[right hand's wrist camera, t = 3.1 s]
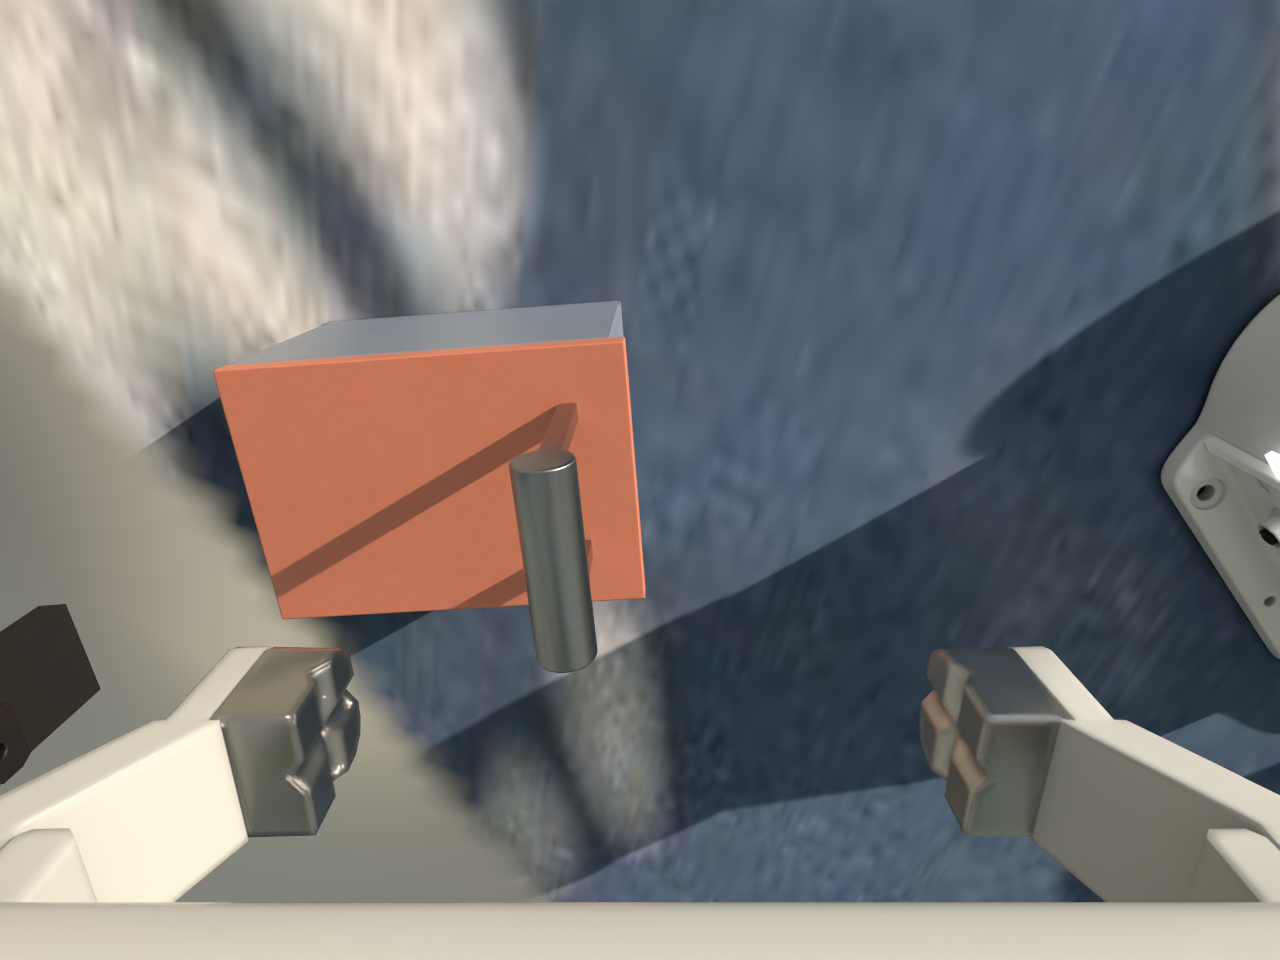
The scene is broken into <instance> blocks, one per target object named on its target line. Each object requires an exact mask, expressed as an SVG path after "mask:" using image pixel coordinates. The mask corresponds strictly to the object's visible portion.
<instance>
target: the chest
mask: <svg viewBox="0 0 1280 960" xmlns="http://www.w3.org/2000/svg"><path fill="white" fill-rule="evenodd" d="M613 337H623V325H622V313H621V301H607V302H594V303H580V304H566V305H553V306H539V307H526V308H512V309H498V310H485V311H471V312H457V313H444V314H430V315H417V316H403V317H389V318H376V319H362V320H349V321H335V322H328V323H326V324H323V325H321V326H320V327H318V328H316V329H313V330H311V331H308V332H306V333H303V334H301V335H299V336H296V337H294V338H291V339H289V340H287V341H284V342H282V343H279V344H277V345H274V346H272V347H270V348H267V349H265V350H262V351H260V352H258V353H255V354H253V355H250V356H248V357H245V358H243V359H241V360H238V361H236V362H233V363H231V364H229V365H236V364H249V363H263V362H277V361H291V360H305V359H319V358H333V357H347V356H361V355H375V354H389V353H403V352H417V351H431V350H445V349H459V348H473V347H487V346H501V345H515V344H529V343H543V342H557V341H571V340H585V339H599V338H613Z"/></svg>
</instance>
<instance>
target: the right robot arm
mask: <svg viewBox="0 0 1280 960" xmlns="http://www.w3.org/2000/svg"><path fill="white" fill-rule="evenodd" d="M1161 483H1162V485H1163V487H1164V489H1165V490H1166V492H1167V494H1168V495H1169V497H1170V498H1171V500H1172V501H1173V503H1174V504H1175V506H1176V507H1177V509H1178V511H1179V512H1180V514H1181V515H1182V517H1183V518H1184V520H1185V521H1186V523H1187V524H1188V526H1189V528H1190V529H1191V531H1192V532H1193V534H1194V535H1195V537H1196V538H1197V540H1198V542H1199V543H1200V545H1201V546H1202V548H1203V549H1204V551H1205V552H1206V554H1207V555H1208V557H1209V559H1210V560H1211V562H1212V563H1213V565H1214V566H1215V568H1216V569H1217V571H1218V572H1219V574H1220V576H1221V577H1222V579H1223V580H1224V582H1225V583H1226V585H1227V586H1228V588H1229V590H1230V591H1231V593H1232V594H1233V596H1234V597H1235V599H1236V600H1237V602H1238V603H1239V605H1240V607H1241V608H1242V610H1243V611H1244V613H1245V614H1246V616H1247V617H1248V619H1249V620H1250V622H1251V624H1252V625H1253V627H1254V628H1255V630H1256V631H1257V633H1258V634H1259V636H1260V638H1261V639H1262V641H1263V642H1264V644H1265V645H1266V647H1267V648H1268V650H1269V651H1270V652H1271V653H1272V654H1273V655H1274V656H1275V657H1277V658H1278V659H1280V294H1279V295H1278V296H1277V297H1275V298H1274V299H1273V300H1272V301H1271V302H1270V303H1269V304H1268V305H1267V306H1265V307H1264V308H1263V309H1262V310H1261V311H1260V312H1259V313H1258V314H1257V315H1256V317H1255V318H1254V319H1253V320H1252V321H1251V322H1250V323H1249V324H1248V325H1247V327H1246V328H1245V329H1244V330H1243V332H1242V333H1241V334H1240V335H1239V337H1238V338H1237V339H1236V341H1235V342H1234V344H1233V345H1232V347H1231V348H1230V350H1229V351H1228V353H1227V355H1226V356H1225V358H1224V360H1223V362H1222V363H1221V365H1220V367H1219V369H1218V371H1217V373H1216V376H1215V378H1214V380H1213V383H1212V385H1211V388H1210V391H1209V394H1208V396H1207V399H1206V402H1205V405H1204V407H1203V410H1202V412H1201V414H1200V416H1199V418H1198V420H1197V422H1196V424H1195V425H1194V426H1193V428H1192V429H1191V430H1190V431H1189V432H1188V433H1187V434H1186V436H1185V437H1184V438H1183V439H1182V440H1181V442H1180V443H1179V444H1178V445H1177V446H1176V448H1175V449H1174V450H1173V452H1172V453H1171V454H1170V456H1169V457H1168V459H1167V460H1166V462H1165V464H1164V466H1163V468H1162V471H1161ZM1203 486H1205V488H1204V490H1203V492H1202V493H1200V494H1199V495H1197V493H1198V491H1199V489H1200V488H1201V487H1203ZM353 676H354V673H353V668H352V663H351V658H350V654H349V653H348V652H347V651H346V650H345V649H344V648H299V647H273V648H271V647H237V648H233V649H230V650H229V651H228V652H227V653H226V654H225V655H224V656H223V657H222V658H221V659H220V660H219V662H218V663H217V664H216V665H215V666H214V667H213V668H212V669H211V670H210V672H209V673H208V674H207V675H206V676H205V677H204V678H203V679H202V680H201V681H200V683H199V684H198V685H197V686H196V687H195V688H194V689H193V690H192V691H191V693H190V694H189V695H188V696H187V697H186V698H185V699H184V700H183V701H182V703H181V704H180V705H179V706H178V707H177V708H176V709H175V710H174V711H173V713H172V714H171V715H170V716H169V717H168V718H167V719H166V720H153V721H151V722H149V723H147V724H145V725H143V726H141V727H139V728H137V729H135V730H133V731H131V732H129V733H126V734H124V735H122V736H120V737H118V738H116V739H114V740H112V741H110V742H108V743H106V744H104V745H102V746H100V747H98V748H96V749H94V750H92V751H90V752H88V753H86V754H84V755H82V756H79V757H77V758H75V759H73V760H71V761H69V762H67V763H65V764H63V765H61V766H59V767H57V768H55V769H53V770H51V771H49V772H47V773H45V774H43V775H41V776H39V777H36V778H34V779H32V780H30V781H28V782H26V783H24V784H22V785H20V786H18V787H16V788H14V789H12V790H10V791H8V792H6V793H4V794H2V795H0V960H1280V795H1278V794H1276V793H1274V792H1272V791H1270V790H1268V789H1266V788H1264V787H1262V786H1260V785H1258V784H1255V783H1253V782H1251V781H1249V780H1247V779H1245V778H1243V777H1241V776H1239V775H1237V774H1235V773H1233V772H1231V771H1229V770H1227V769H1225V768H1223V767H1221V766H1219V765H1217V764H1215V763H1213V762H1211V761H1209V760H1207V759H1204V758H1202V757H1200V756H1198V755H1196V754H1194V753H1192V752H1190V751H1188V750H1186V749H1184V748H1182V747H1180V746H1178V745H1176V744H1174V743H1172V742H1170V741H1168V740H1166V739H1164V738H1162V737H1160V736H1158V735H1156V734H1154V733H1151V732H1149V731H1147V730H1145V729H1143V728H1141V727H1139V726H1137V725H1135V724H1133V723H1131V722H1129V721H1127V720H1114V719H1113V718H1112V717H1111V716H1110V715H1109V714H1108V713H1107V711H1106V710H1105V709H1104V708H1103V707H1102V706H1101V705H1100V704H1099V703H1098V701H1097V700H1096V699H1095V698H1094V697H1093V696H1092V695H1091V694H1090V693H1089V691H1088V690H1087V689H1086V688H1085V687H1084V686H1083V685H1082V684H1081V683H1080V681H1079V680H1078V679H1077V678H1076V677H1075V676H1074V675H1073V674H1072V673H1071V671H1070V670H1069V669H1068V668H1067V667H1066V666H1065V665H1064V664H1063V663H1062V661H1061V660H1060V659H1059V658H1058V657H1057V656H1056V655H1055V654H1054V653H1053V652H1052V651H1051V650H1050V649H1047V648H1045V647H1043V646H1036V647H1008V648H985V649H934V650H933V652H932V654H931V656H930V658H929V661H928V667H927V672H926V676H927V677H928V679H929V681H930V682H931V684H932V686H933V688H934V690H933V691H932V692H931V693H930V694H929V695H928V696H927V697H926V698H925V699H924V700H923V701H922V703H921V711H920V719H919V726H920V738H921V744H922V748H923V751H924V755H925V758H926V760H927V762H928V764H929V766H930V768H931V770H932V771H933V772H934V773H936V774H937V775H939V776H940V777H941V778H943V779H944V780H946V781H947V784H946V789H945V795H944V796H945V798H946V800H947V802H948V804H949V806H950V808H951V810H952V812H953V814H954V816H955V818H956V820H957V821H958V823H959V825H960V827H961V829H962V831H963V833H964V835H972V836H1007V837H1032V839H1031V840H1032V841H1033V842H1034V843H1035V844H1036V845H1038V846H1039V847H1040V848H1041V849H1042V850H1044V851H1045V852H1046V853H1047V854H1048V855H1050V856H1051V857H1052V858H1053V859H1054V860H1056V861H1057V862H1058V863H1059V864H1061V865H1062V866H1063V867H1064V868H1065V869H1067V870H1068V871H1069V872H1070V873H1071V874H1073V875H1074V876H1075V877H1076V878H1077V879H1079V880H1080V881H1081V882H1082V883H1083V884H1085V885H1086V886H1087V887H1088V888H1089V889H1091V890H1092V891H1093V892H1094V893H1095V894H1097V895H1098V896H1099V897H1100V898H1102V899H1103V900H1104V901H1105V902H175V901H176V900H177V899H179V898H180V897H181V896H182V895H184V894H185V893H186V892H187V891H188V890H190V889H191V888H192V887H193V886H194V885H196V884H197V883H198V882H199V881H200V880H202V879H203V878H204V877H205V876H206V875H208V874H209V873H210V872H211V871H212V870H214V869H215V868H216V867H217V866H219V865H220V864H221V863H222V862H223V861H225V860H226V859H227V858H228V857H229V856H231V855H232V854H233V853H234V852H235V851H237V850H238V849H239V848H240V847H241V846H243V845H244V844H245V843H246V842H247V841H248V837H272V836H306V835H316V833H317V831H318V829H319V827H320V826H321V824H322V822H323V820H324V817H325V816H326V814H327V812H328V810H329V808H330V806H331V804H332V802H333V800H334V798H335V796H336V795H335V789H334V784H333V781H334V780H336V779H337V778H339V777H340V776H341V775H343V774H344V773H346V772H347V771H348V770H349V768H350V766H351V764H352V762H353V759H354V757H355V755H356V751H357V747H358V742H359V738H360V718H361V717H360V710H359V703H358V701H357V700H356V699H355V698H354V697H353V696H352V695H351V694H350V693H349V692H348V691H347V690H346V688H347V686H348V684H349V682H350V681H351V679H352V677H353Z"/></svg>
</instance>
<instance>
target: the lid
mask: <svg viewBox="0 0 1280 960" xmlns="http://www.w3.org/2000/svg"><path fill="white" fill-rule="evenodd" d="M213 374H214V377H215V381H216V384H217V388H218V391H219V395H220V399H221V402H222V406H223V409H224V413H225V416H226V420H227V423H228V427H229V431H230V434H231V438H232V441H233V445H234V448H235V452H236V455H237V459H238V462H239V466H240V470H241V473H242V477H243V480H244V484H245V487H246V491H247V494H248V498H249V502H250V505H251V509H252V512H253V516H254V519H255V523H256V526H257V530H258V534H259V537H260V541H261V544H262V548H263V551H264V555H265V558H266V562H267V566H268V569H269V573H270V576H271V580H272V583H273V587H274V590H275V594H276V598H277V601H278V605H279V608H280V612H281V615H282V618H283V619H296V618H313V617H330V616H347V615H365V614H382V613H399V612H416V611H434V610H451V609H468V608H485V607H503V606H520V605H529V610H530V617H531V624H532V631H533V637H534V644H535V651H536V658H537V662H538V663H539V665H540V666H541V667H542V668H544V669H545V670H548V671H551V672H556V673H567V672H573V671H577V670H580V669H582V668H584V667H586V666H588V665H589V664H590V663H591V662H592V661H593V660H594V659H595V657H596V655H597V643H596V634H595V624H594V615H593V606H592V601H606V600H623V599H641V598H645V578H644V566H643V553H642V541H641V529H640V516H639V504H638V491H637V479H636V467H635V454H634V442H633V429H632V417H631V405H630V392H629V380H628V368H627V355H626V343H625V337H613V338H599V339H585V340H571V341H557V342H543V343H529V344H515V345H501V346H487V347H473V348H459V349H445V350H431V351H417V352H403V353H389V354H375V355H361V356H347V357H333V358H319V359H305V360H291V361H277V362H263V363H249V364H236V365H226V366H223V367H221V368H218V369H216V370H214V371H213Z"/></svg>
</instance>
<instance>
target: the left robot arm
mask: <svg viewBox="0 0 1280 960" xmlns="http://www.w3.org/2000/svg"><path fill="white" fill-rule="evenodd" d="M99 690H100V687H99V684H98V682H97V679H96V677H95V674H94V672H93V670H92V667H91V665H90V662H89V660H88V657H87V655H86V653H85V650H84V648H83V645H82V643H81V640H80V638H79V635H78V633H77V630H76V628H75V626H74V623H73V621H72V618H71V616H70V613H69V611H68V608H67V606H66V604H61V605H47V606H38V607H36V608H35V609H33V610H32V611H31V612H29V613H28V614H26V615H25V616H23V617H22V618H20V619H19V620H17V621H16V622H14V623H13V624H11V625H10V626H8V627H7V628H5V629H4V630H2V631H1V632H0V784H4V783H5V782H6V781H7V780H8V779H10V778H11V777H12V776H13V775H14V774H15V773H16V772H17V771H18V770H19V769H21V768H22V767H23V765H24V764H25V762H26V760H27V758H28V757H29V755H30V753H31V751H32V750H34V749H35V748H36V747H37V746H38V745H39V744H40V743H41V742H42V741H44V740H45V739H46V738H47V737H48V736H49V735H50V734H51V733H52V732H53V731H55V730H56V729H57V728H58V727H59V726H60V725H61V724H62V723H63V722H65V721H66V720H67V719H68V718H69V717H70V716H71V715H72V714H73V713H75V712H76V711H77V710H78V709H79V708H80V707H81V706H82V705H83V704H85V703H86V702H87V701H88V700H89V699H90V698H91V697H92V696H93V695H95V694H96V693H97V692H98V691H99Z"/></svg>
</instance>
